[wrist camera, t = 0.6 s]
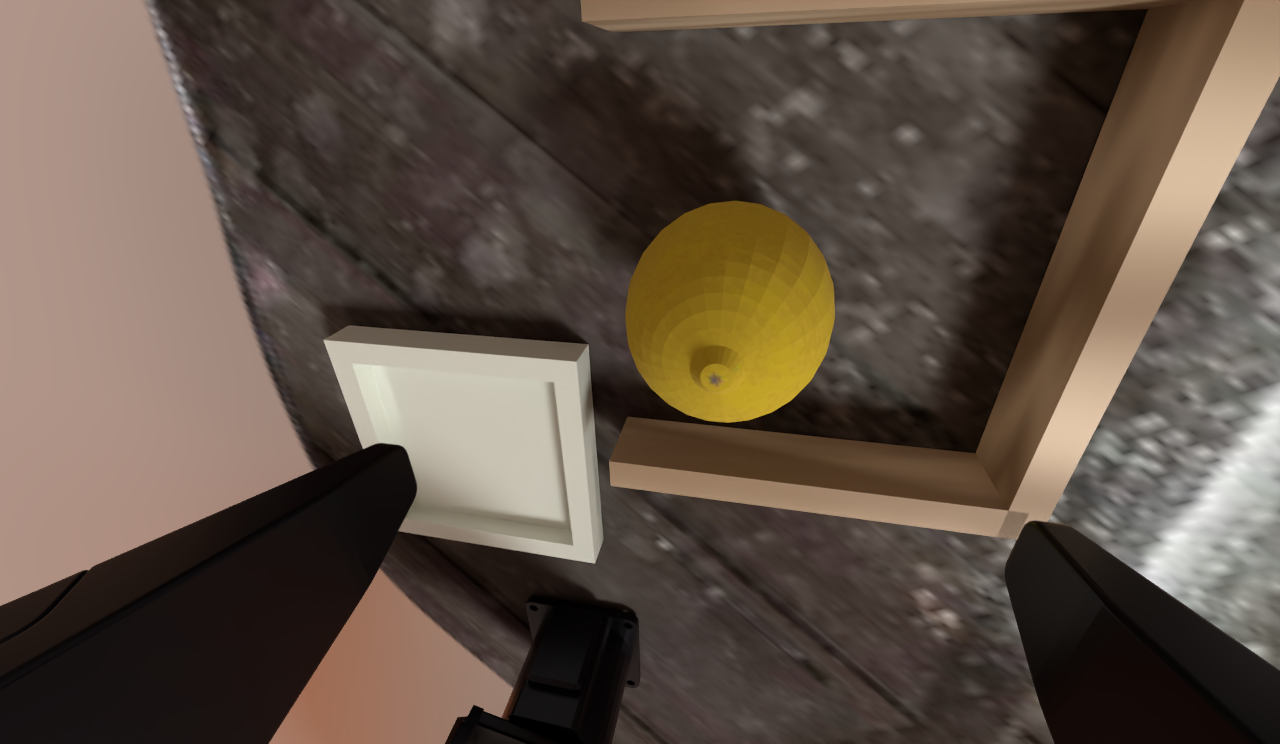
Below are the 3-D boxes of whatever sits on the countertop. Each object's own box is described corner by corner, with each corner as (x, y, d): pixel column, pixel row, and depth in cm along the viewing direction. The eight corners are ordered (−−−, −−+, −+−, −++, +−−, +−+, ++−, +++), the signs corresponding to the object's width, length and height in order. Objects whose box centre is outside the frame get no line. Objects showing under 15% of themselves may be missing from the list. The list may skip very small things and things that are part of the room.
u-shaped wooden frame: (1000, 481, 19) (1036, 542, 17) (628, 439, 22) (610, 485, 19) (1235, -59, 11) (1370, -100, 9) (611, -20, 14) (578, -42, 12)
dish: (603, 539, 26) (594, 563, 24) (409, 509, 28) (392, 530, 26) (588, 344, 20) (576, 361, 19) (348, 325, 22) (323, 340, 21)
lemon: (631, 216, 17) (545, 301, 10) (794, 151, 15) (818, 203, 9) (687, 354, 19) (647, 499, 13) (837, 312, 17) (884, 457, 11)
